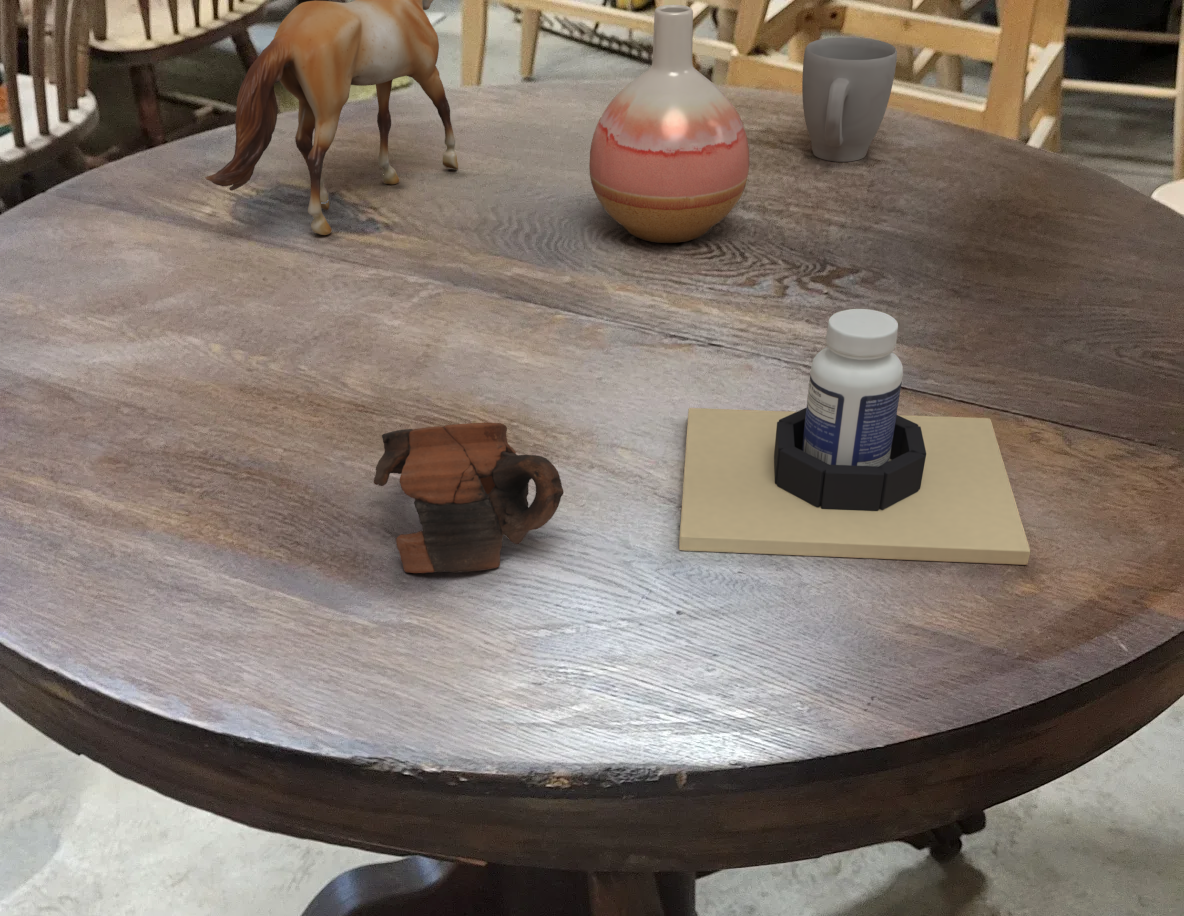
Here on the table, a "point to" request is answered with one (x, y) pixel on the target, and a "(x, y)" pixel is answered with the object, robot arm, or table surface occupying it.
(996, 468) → the socket pad
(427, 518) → the pottery mug
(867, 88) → the mug
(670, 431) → the table surface
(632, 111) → the vase
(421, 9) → the horse figurine
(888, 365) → the pill bottle
